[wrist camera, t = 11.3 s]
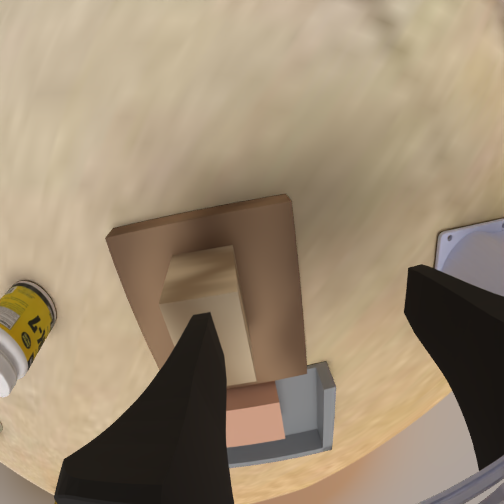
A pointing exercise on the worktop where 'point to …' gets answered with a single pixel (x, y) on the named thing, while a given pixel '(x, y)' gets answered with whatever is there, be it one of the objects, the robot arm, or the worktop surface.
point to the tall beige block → (210, 305)
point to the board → (249, 270)
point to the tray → (297, 420)
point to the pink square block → (253, 415)
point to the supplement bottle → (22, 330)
